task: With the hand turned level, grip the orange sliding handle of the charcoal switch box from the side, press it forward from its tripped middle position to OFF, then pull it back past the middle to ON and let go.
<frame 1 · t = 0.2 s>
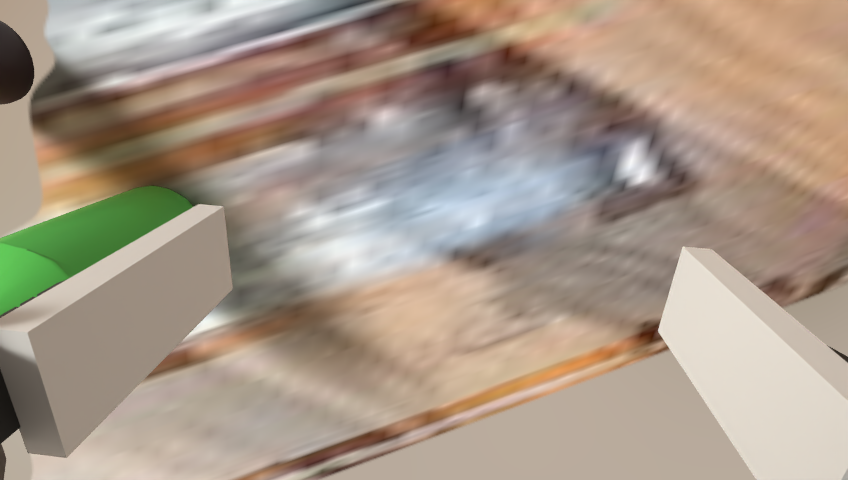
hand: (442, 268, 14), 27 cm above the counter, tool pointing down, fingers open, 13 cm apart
bottle: (167, 228, 44), on the counter
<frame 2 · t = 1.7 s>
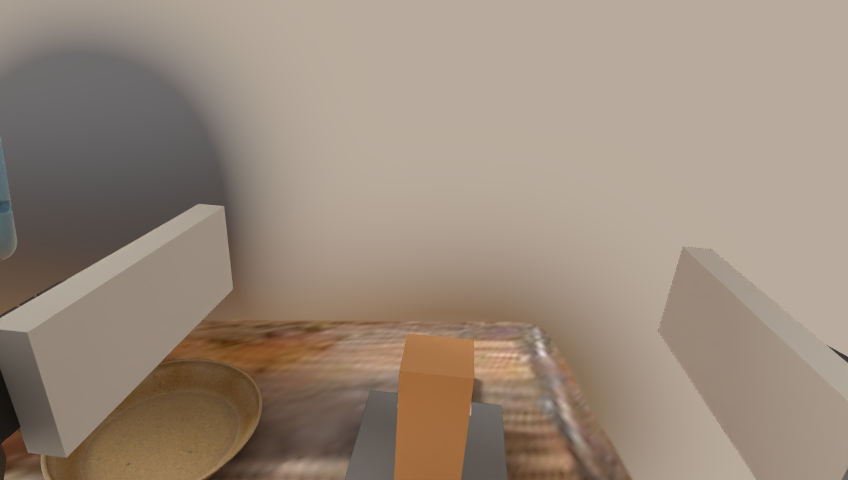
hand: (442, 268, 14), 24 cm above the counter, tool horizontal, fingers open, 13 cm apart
breaker handle: (432, 426, 29), point 9 cm above the counter, slide at 0.0 cm
plant saucer: (166, 445, 37), on the counter
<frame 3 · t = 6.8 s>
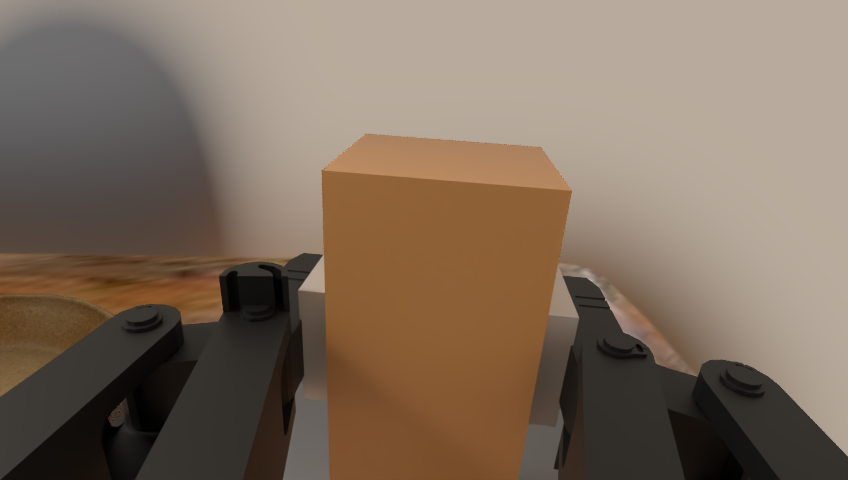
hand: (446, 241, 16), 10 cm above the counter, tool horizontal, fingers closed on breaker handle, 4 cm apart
breaker handle: (431, 379, 11), point 9 cm above the counter, slide at 0.0 cm, touching gripper
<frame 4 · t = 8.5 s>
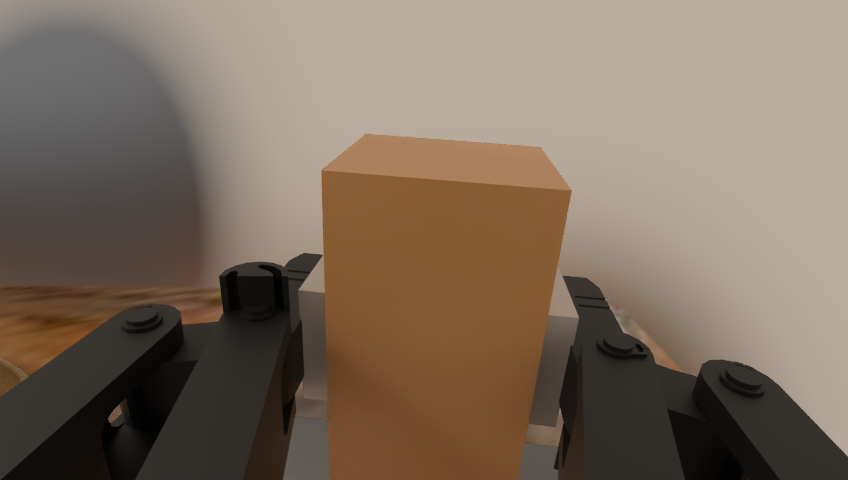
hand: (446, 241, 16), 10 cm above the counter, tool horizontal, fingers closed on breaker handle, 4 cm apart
breaker handle: (431, 379, 11), point 9 cm above the counter, slide at 4.9 cm, touching gripper
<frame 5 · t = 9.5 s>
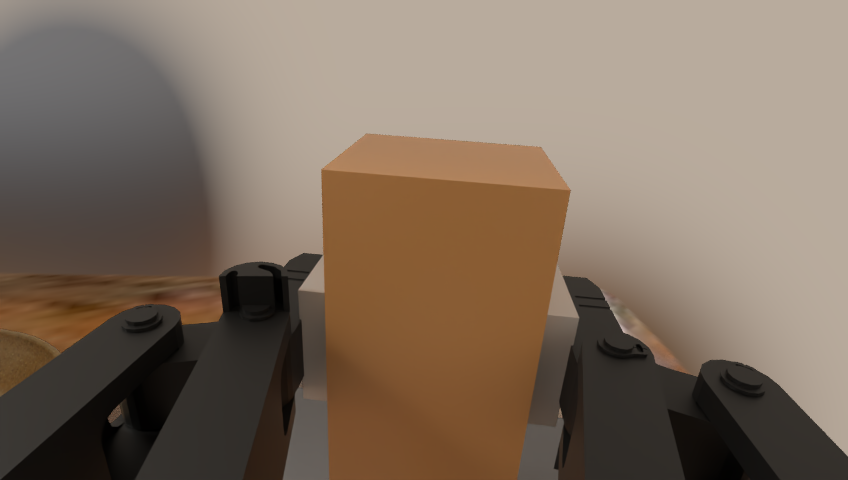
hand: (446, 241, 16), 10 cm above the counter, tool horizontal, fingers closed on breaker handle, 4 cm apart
breaker handle: (431, 379, 11), point 9 cm above the counter, slide at 3.4 cm, touching gripper
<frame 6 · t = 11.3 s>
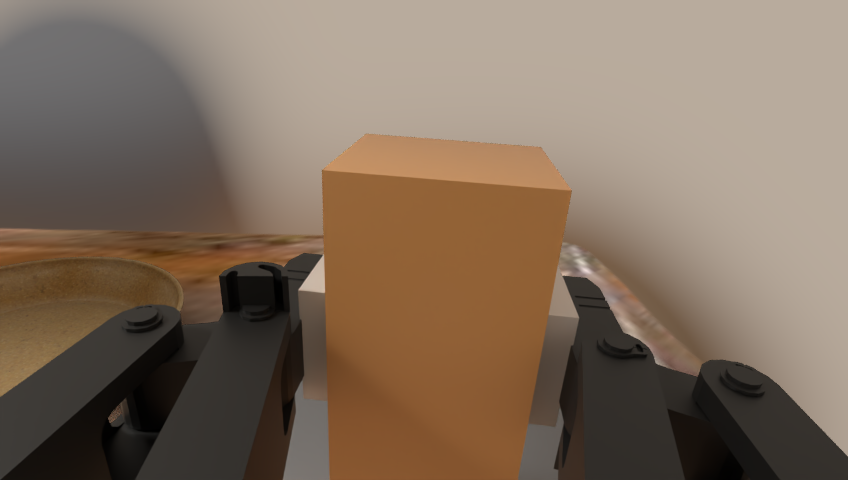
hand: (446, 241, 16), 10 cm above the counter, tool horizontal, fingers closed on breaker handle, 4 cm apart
switch box: (426, 473, 19), on the counter
breaker handle: (431, 379, 11), point 9 cm above the counter, slide at -4.9 cm, touching gripper
plant saucer: (32, 364, 24), on the counter
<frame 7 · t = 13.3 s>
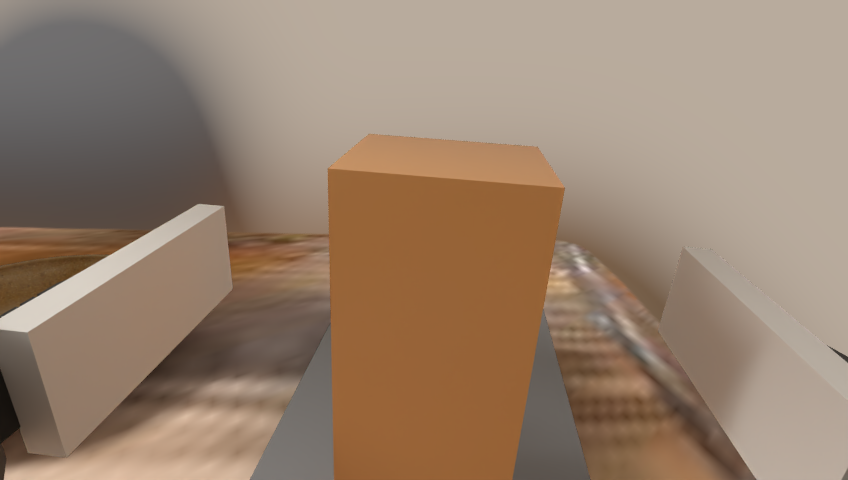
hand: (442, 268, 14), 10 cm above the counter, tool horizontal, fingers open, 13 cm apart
switch box: (427, 464, 19), on the counter
breaker handle: (431, 371, 12), point 9 cm above the counter, slide at -5.0 cm
plant saucer: (40, 360, 25), on the counter
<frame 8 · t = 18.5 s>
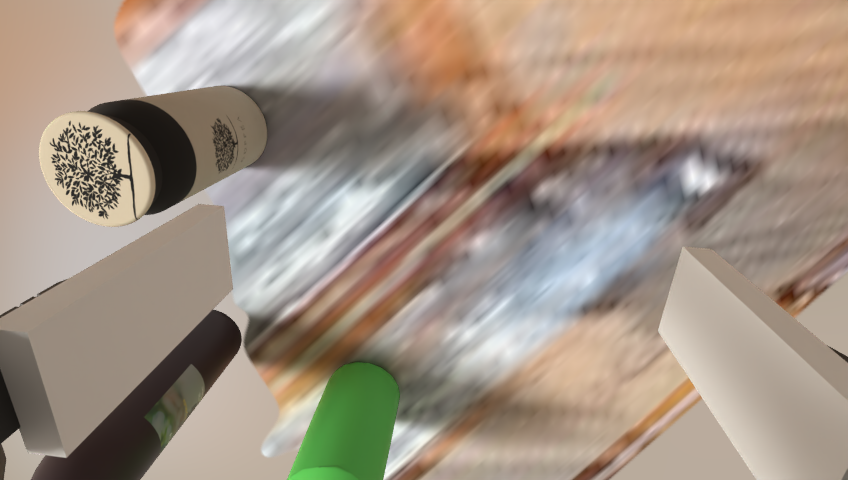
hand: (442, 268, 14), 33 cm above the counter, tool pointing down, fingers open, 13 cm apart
wine bottle: (215, 332, 56), on the counter
travel mug: (230, 127, 46), on the counter
bottle: (365, 386, 57), on the counter
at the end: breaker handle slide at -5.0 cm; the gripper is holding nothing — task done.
